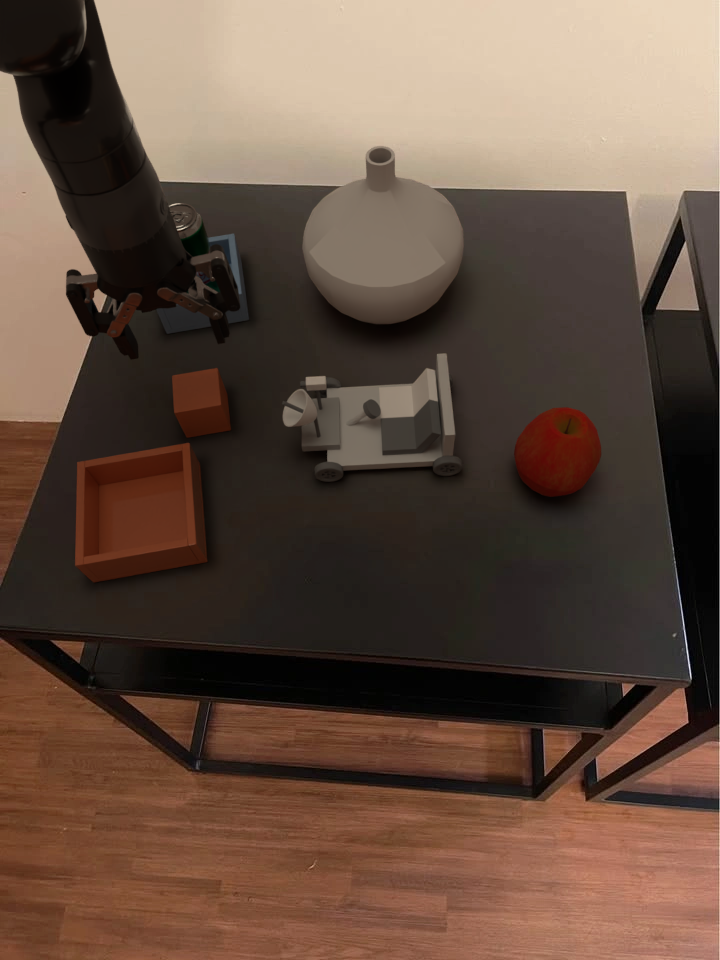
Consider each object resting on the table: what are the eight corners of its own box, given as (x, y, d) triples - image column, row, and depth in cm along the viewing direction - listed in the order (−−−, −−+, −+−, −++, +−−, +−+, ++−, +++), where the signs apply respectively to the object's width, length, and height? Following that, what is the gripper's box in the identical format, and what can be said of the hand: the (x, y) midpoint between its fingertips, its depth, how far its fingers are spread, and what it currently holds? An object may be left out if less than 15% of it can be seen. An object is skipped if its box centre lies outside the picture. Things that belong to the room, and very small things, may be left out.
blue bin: (166, 334, 87) (155, 308, 83) (163, 273, 92) (152, 246, 88) (249, 320, 87) (241, 293, 83) (241, 260, 92) (234, 233, 88)
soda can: (213, 312, 87) (187, 236, 77) (176, 304, 88) (146, 227, 78) (230, 282, 90) (207, 205, 79) (193, 274, 91) (166, 196, 80)
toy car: (277, 435, 68) (280, 339, 73) (291, 484, 76) (293, 394, 82) (468, 425, 67) (457, 328, 72) (461, 475, 76) (451, 386, 81)
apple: (583, 518, 73) (610, 466, 63) (502, 501, 74) (517, 447, 65) (593, 451, 76) (620, 392, 67) (516, 435, 78) (531, 375, 68)
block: (186, 438, 80) (173, 413, 75) (184, 401, 82) (171, 375, 78) (231, 430, 80) (221, 404, 75) (227, 394, 82) (217, 367, 78)
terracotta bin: (93, 582, 72) (74, 565, 68) (93, 483, 78) (76, 461, 73) (207, 562, 72) (196, 544, 68) (200, 464, 78) (189, 442, 74)
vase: (297, 342, 85) (271, 213, 69) (324, 232, 94) (308, 93, 77) (451, 356, 83) (463, 227, 66) (465, 243, 92) (479, 102, 75)
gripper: (206, 165, 58) (245, 303, 72) (30, 195, 58) (105, 328, 72) (213, 230, 54) (253, 362, 69) (26, 262, 54) (105, 388, 68)
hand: (177, 344), depth 70 cm, fingers open, 8 cm apart
